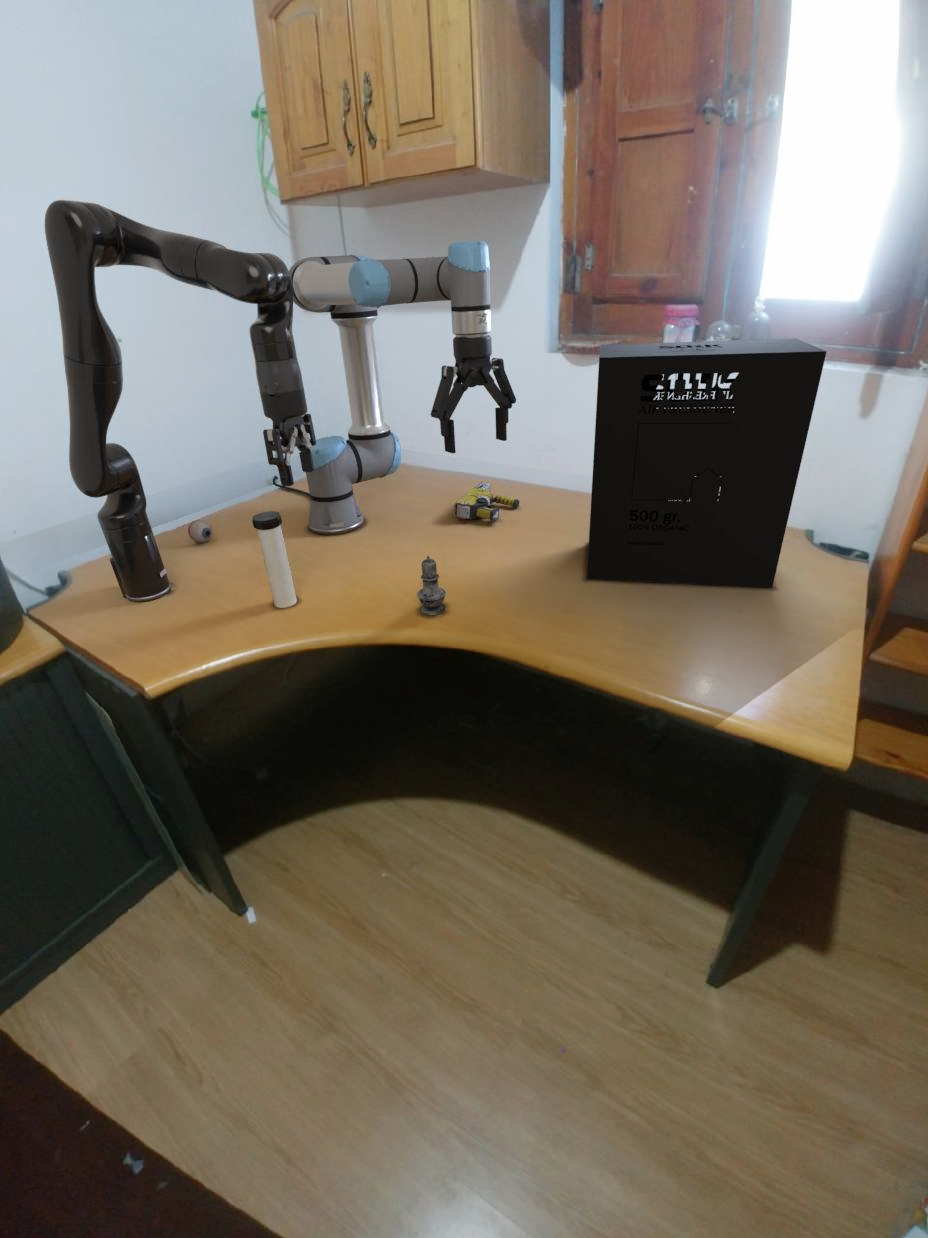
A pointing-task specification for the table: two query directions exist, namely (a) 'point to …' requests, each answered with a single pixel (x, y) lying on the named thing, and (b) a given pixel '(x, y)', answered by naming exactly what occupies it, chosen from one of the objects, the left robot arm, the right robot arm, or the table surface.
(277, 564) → the bottle
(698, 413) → the cardboard box
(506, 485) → the table surface
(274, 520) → the lid
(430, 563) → the salt shaker
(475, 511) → the toy gun
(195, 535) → the eyeball
